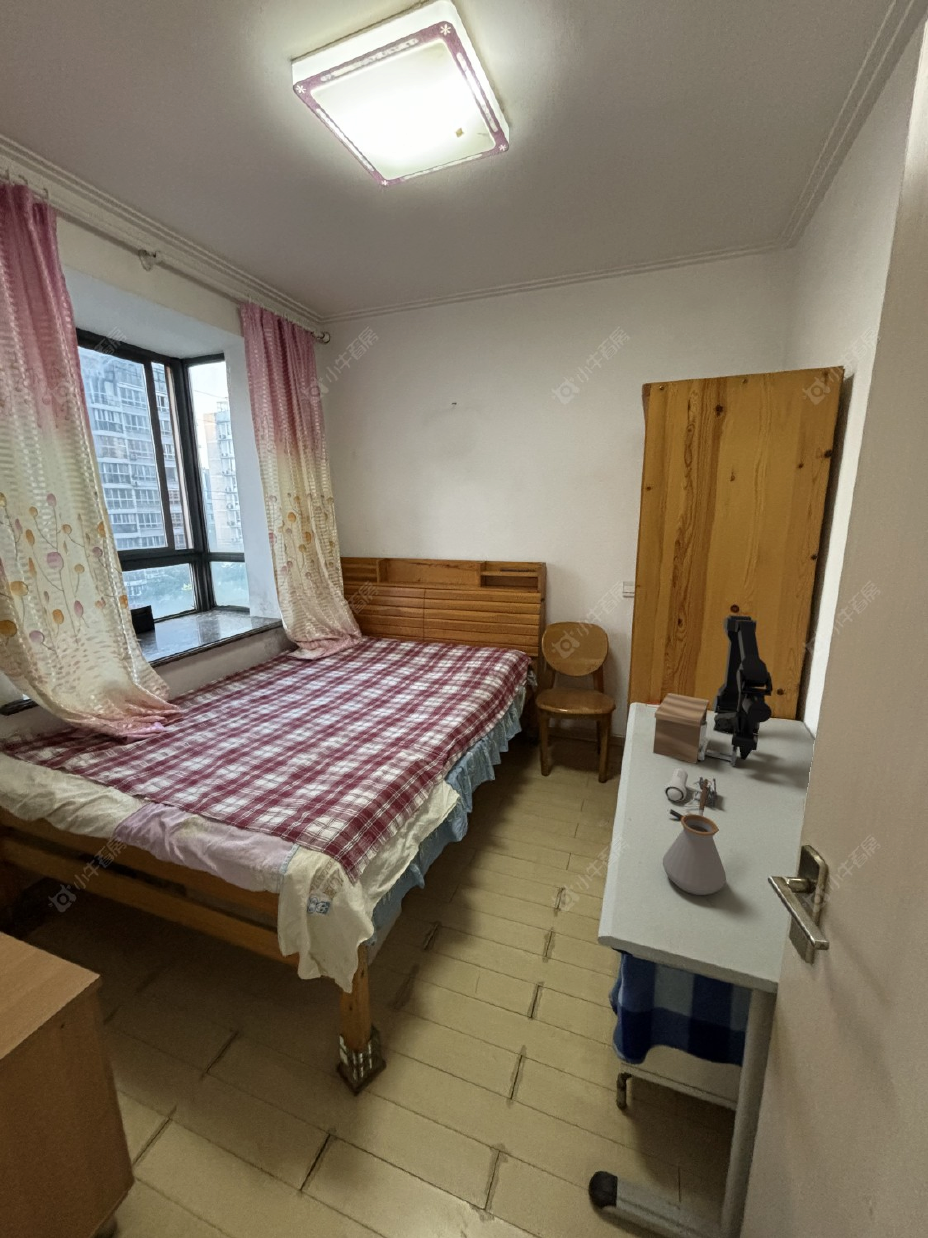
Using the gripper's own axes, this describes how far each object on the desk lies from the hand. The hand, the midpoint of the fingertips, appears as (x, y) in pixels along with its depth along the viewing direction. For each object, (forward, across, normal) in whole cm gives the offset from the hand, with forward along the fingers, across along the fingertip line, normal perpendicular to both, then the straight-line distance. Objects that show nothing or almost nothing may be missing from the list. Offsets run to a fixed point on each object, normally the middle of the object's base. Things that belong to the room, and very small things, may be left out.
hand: (742, 759), depth 146 cm
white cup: (+2, 0, -14) cm, 14 cm away
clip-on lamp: (+2, +31, -10) cm, 33 cm away
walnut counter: (+1, 0, -18) cm, 18 cm away
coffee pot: (+1, +55, -5) cm, 55 cm away
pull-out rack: (+1, 0, -10) cm, 10 cm away
